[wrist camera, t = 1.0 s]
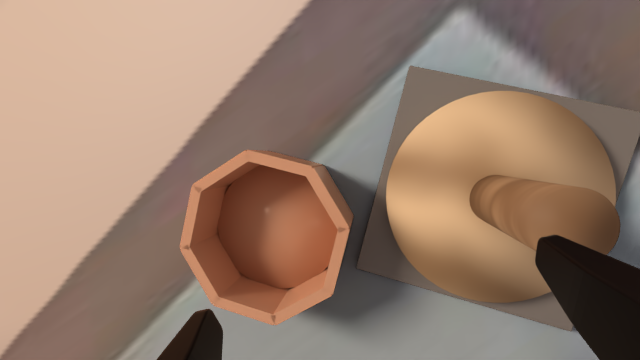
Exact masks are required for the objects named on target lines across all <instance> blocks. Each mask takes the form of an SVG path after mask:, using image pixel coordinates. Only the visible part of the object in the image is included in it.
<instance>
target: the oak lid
mask: <svg viewBox="0 0 640 360" xmlns="http://www.w3.org/2000/svg"><path fill="white" fill-rule="evenodd" d="M615 204H616V184H615V179H614V173H613V169H612V166H611V163H610V160H609V157H608V155H607V153H606V151H605V149H604V147H603V145H602V144H601V142H600V141H599V139H598V138H597V136H596V135H595V134H594V132H593V131H592V130H591V129H590V128H589V127H588V126H587V125H586V124H585V123H584V122H583V121H582V120H581V119H580V118H579V117H577V116H576V115H575V114H574V113H572V112H571V111H570V110H568V109H566V108H564V107H563V106H561V105H559V104H558V103H555V102H553V101H551V100H548V99H546V98H543V97H540V96H537V95H533V94H529V93H523V92H516V91H491V92H482V93H478V94H474V95H469V96H466V97H463V98H460V99H458V100H455V101H453V102H451V103H449V104H447V105H445V106H443V107H441V108H439V109H438V110H436V111H435V112H433V113H432V114H431V115H429V116H428V117H426V118H425V119H424V120H423V121H422V122H420V123H419V124H418V125H417V126H416V127H415V128H414V129H413V130H412V131H411V133H410V134H409V135H408V136H407V137H406V139H405V140H404V142H403V143H402V145H401V146H400V148H399V149H398V151H397V153H396V156H395V158H394V160H393V162H392V165H391V168H390V171H389V175H388V180H387V187H386V206H387V213H388V218H389V223H390V226H391V229H392V232H393V235H394V237H395V239H396V241H397V243H398V245H399V247H400V249H401V251H402V252H403V254H404V255H405V256H406V258H407V259H408V261H409V262H410V263H411V264H412V265H413V266H414V267H415V268H416V270H417V271H419V272H420V273H421V274H422V275H423V276H424V277H425V278H427V279H428V280H429V281H431V282H432V283H434V284H435V285H437V286H438V287H440V288H442V289H444V290H446V291H448V292H450V293H452V294H455V295H458V296H461V297H464V298H467V299H471V300H476V301H482V302H491V303H509V302H517V301H524V300H527V299H531V298H535V297H539V296H541V295H544V294H546V293H549V292H551V290H550V288H549V286H548V285H547V283H546V282H545V280H544V278H543V277H542V275H541V274H540V272H539V270H538V269H537V266H536V263H535V256H536V249H537V242H538V240H539V238H541V237H544V236H549V235H559V236H562V237H564V238H567V239H569V240H571V241H574V242H576V243H579V244H581V245H583V246H586V247H588V248H591V249H593V250H595V251H598V252H600V253H603V254H605V255H607V254H608V253H609V252H610V251H611V250H612V248H613V247H614V245H615V244H616V242H617V239H618V237H619V233H620V220H619V216H618V213H617V211H616V209H615Z"/></svg>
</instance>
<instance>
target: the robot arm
mask: <svg viewBox="0 0 640 360" xmlns="http://www.w3.org/2000/svg"><path fill="white" fill-rule="evenodd" d="M535 263H536V266H537V269H538V270H539V272H540V274H541V275H542V277H543V278H544V280H545V282H546V283H547V285H548V286H549V288H550V290H551V291H552V293H553V294H554V296H555V298H556V299H557V301H558V303H559V304H560V306H561V307H562V309H563V311H564V312H565V314H566V315H567V317H568V318H569V320H570V321H571V323H572V324H573V325H574V327H575V328H576V330H577V331H578V332H579V334H580V335H581V336H582V337H583V339H584V340H585V341H586V343H587V344H588V345H589V347H590V348H591V349H592V350H593V352H594V353H595V354H596V356H597V357H598V358H599V360H640V269H638V268H636V267H634V266H631V265H629V264H627V263H624V262H622V261H619V260H617V259H615V258H612V257H610V256H607V255H605V254H603V253H600V252H598V251H595V250H593V249H591V248H588V247H586V246H583V245H581V244H579V243H576V242H574V241H571V240H569V239H567V238H564V237H562V236H559V235H549V236H544V237H541V238H539V240H538V242H537V249H536V256H535ZM222 344H223V330H222V327H221V325H220V323H219V322H218V320H217V318H216V316H215V315H214V313H213V312H212V310H210V309H205V310H200V311H197V312H195V313H194V314H193V315H192V316H191V317H190V319H189V320H188V321H187V322H186V324H185V325H184V326H183V327H182V329H181V330H180V331H179V332H178V334H177V335H176V336H175V337H174V339H173V340H172V341H171V342H170V344H169V345H168V346H167V347H166V349H165V350H164V351H163V352H162V354H161V355H160V356H159V357H158V359H157V360H222Z"/></svg>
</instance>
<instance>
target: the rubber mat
mask: <svg viewBox="0 0 640 360" xmlns="http://www.w3.org/2000/svg"><path fill="white" fill-rule="evenodd" d="M491 91H516V92H523V93H529V94H533V95H537V96H540V97H543V98H546V99H548V100H551V101H553V102H555V103H558V104H559V105H561V106H563V107H564V108H566V109H568V110H570V111H571V112H572V113H574V114H575V115H576V116H577V117H579V118H580V119H581V120H582V121H583V122H584V123H585V124H586V125H587V126H588V127H589V128H590V129H591V130H592V131H593V132H594V134H595V135H596V136H597V138H598V139H599V141H600V142H601V144H602V145H603V147H604V149H605V151H606V153H607V155H608V157H609V160H610V163H611V166H612V169H613V173H614V179H615V184H616V202H617V199H618V196H619V193H620V190H621V187H622V184H623V182H624V179H625V176H626V173H627V170H628V167H629V164H630V162H631V159H632V156H633V153H634V150H635V147H636V144H637V141H638V139H639V136H640V112H637V111H632V110H627V109H622V108H617V107H612V106H607V105H602V104H597V103H592V102H587V101H582V100H578V99H573V98H568V97H563V96H558V95H553V94H548V93H543V92H538V91H533V90H528V89H523V88H518V87H513V86H508V85H503V84H498V83H493V82H488V81H484V80H479V79H474V78H469V77H464V76H459V75H454V74H449V73H444V72H439V71H434V70H429V69H424V68H419V67H414V66H410V67H409V70H408V74H407V78H406V81H405V85H404V89H403V93H402V97H401V100H400V104H399V108H398V112H397V115H396V119H395V123H394V127H393V131H392V134H391V138H390V142H389V146H388V150H387V153H386V157H385V161H384V165H383V168H382V172H381V176H380V180H379V184H378V187H377V191H376V195H375V199H374V202H373V206H372V210H371V214H370V218H369V221H368V225H367V229H366V233H365V237H364V240H363V244H362V248H361V252H360V255H359V259H358V263H357V267H356V268H357V269H360V270H363V271H367V272H370V273H374V274H377V275H380V276H384V277H387V278H391V279H394V280H397V281H401V282H404V283H408V284H411V285H414V286H418V287H421V288H425V289H428V290H432V291H435V292H438V293H442V294H445V295H449V296H452V297H455V298H459V299H462V300H466V301H469V302H472V303H476V304H479V305H483V306H486V307H489V308H493V309H496V310H500V311H503V312H506V313H510V314H513V315H517V316H520V317H523V318H527V319H530V320H534V321H537V322H541V323H544V324H547V325H551V326H554V327H558V328H561V329H564V330H568V331H572V328H573V324H572V323H571V321H570V320H569V318H568V317H567V315H566V314H565V312H564V311H563V309H562V307H561V306H560V304H559V303H558V301H557V299H556V298H555V296H554V294H553V293H552V291H551V292H549V293H546V294H544V295H541V296H539V297H535V298H531V299H527V300H524V301H517V302H509V303H491V302H482V301H476V300H471V299H467V298H464V297H461V296H458V295H455V294H452V293H450V292H448V291H446V290H444V289H442V288H440V287H438V286H437V285H435V284H434V283H432V282H431V281H429V280H428V279H427V278H425V277H424V276H423V275H422V274H421V273H420V272H419V271H417V270H416V268H415V267H414V266H413V265H412V264H411V263H410V262H409V261H408V259H407V258H406V256H405V255H404V254H403V252H402V251H401V249H400V247H399V245H398V243H397V241H396V239H395V237H394V235H393V232H392V229H391V226H390V223H389V218H388V213H387V206H386V187H387V180H388V175H389V171H390V168H391V165H392V162H393V160H394V158H395V156H396V153H397V151H398V149H399V148H400V146H401V145H402V143H403V142H404V140H405V139H406V137H407V136H408V135H409V134H410V133H411V131H412V130H413V129H414V128H415V127H416V126H417V125H418V124H419V123H420V122H422V121H423V120H424V119H425V118H426V117H428V116H429V115H431V114H432V113H433V112H435V111H436V110H438V109H439V108H441V107H443V106H445V105H447V104H449V103H451V102H453V101H455V100H458V99H460V98H463V97H466V96H469V95H474V94H478V93H482V92H491ZM615 205H616V204H615Z"/></svg>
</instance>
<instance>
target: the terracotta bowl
mask: <svg viewBox="0 0 640 360" xmlns="http://www.w3.org/2000/svg"><path fill="white" fill-rule="evenodd" d="M353 217H354V216H353V213H352V211H351V210H350V208H349V206H348V204H347V203H346V201H345V199H344V198H343V196H342V194H341V193H340V191H339V189H338V188H337V186H336V184H335V183H334V181H333V179H332V178H331V176H330V174H329V173H328V171H327V169H326V168H325V166H323V164H319V163H315V162H311V161H307V160H303V159H299V158H295V157H291V156H287V155H283V154H279V153H276V152H272V151H261V150H245V151H243V152H242V153H240V154H239V155H237V156H236V157H234V158H232V159H231V160H229V161H228V162H226V163H225V164H223V165H222V166H220V167H219V168H217V169H216V170H214V171H212V172H211V173H209V174H208V175H206V176H205V177H203V178H202V179H200V180H199V181H197V182H196V183H194V184H193V186H192V188H191V193H190V198H189V203H188V208H187V213H186V218H185V223H184V228H183V233H182V238H181V243H180V248H181V249H180V250H181V252H182V254H183V255H184V257H185V259H186V260H187V262H188V264H189V266H190V267H191V269H192V271H193V273H194V274H195V276H196V278H197V279H198V281H199V283H200V285H201V286H202V288H203V290H204V291H205V293H206V295H207V297H208V298H209V300H210V302H211V303H212V304H214V306H216V307H219V308H222V309H225V310H228V311H231V312H234V313H237V314H241V315H244V316H247V317H250V318H253V319H256V320H259V321H262V322H265V323H268V324H271V325H274V324H275V325H277V324H279V323H281V322H283V321H285V320H287V319H289V318H291V317H293V316H294V315H296V314H298V313H300V312H302V311H304V310H306V309H308V308H310V307H312V306H314V305H315V304H317V303H319V302H321V301H323V300H325V299H327V298H329V297H331V296H332V294H333V292H334V289H335V285H336V282H337V278H338V275H339V271H340V268H341V264H342V260H343V256H344V252H345V248H346V244H347V240H348V237H349V233H350V229H351V225H352V221H353ZM328 265H329V266H328Z"/></svg>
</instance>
